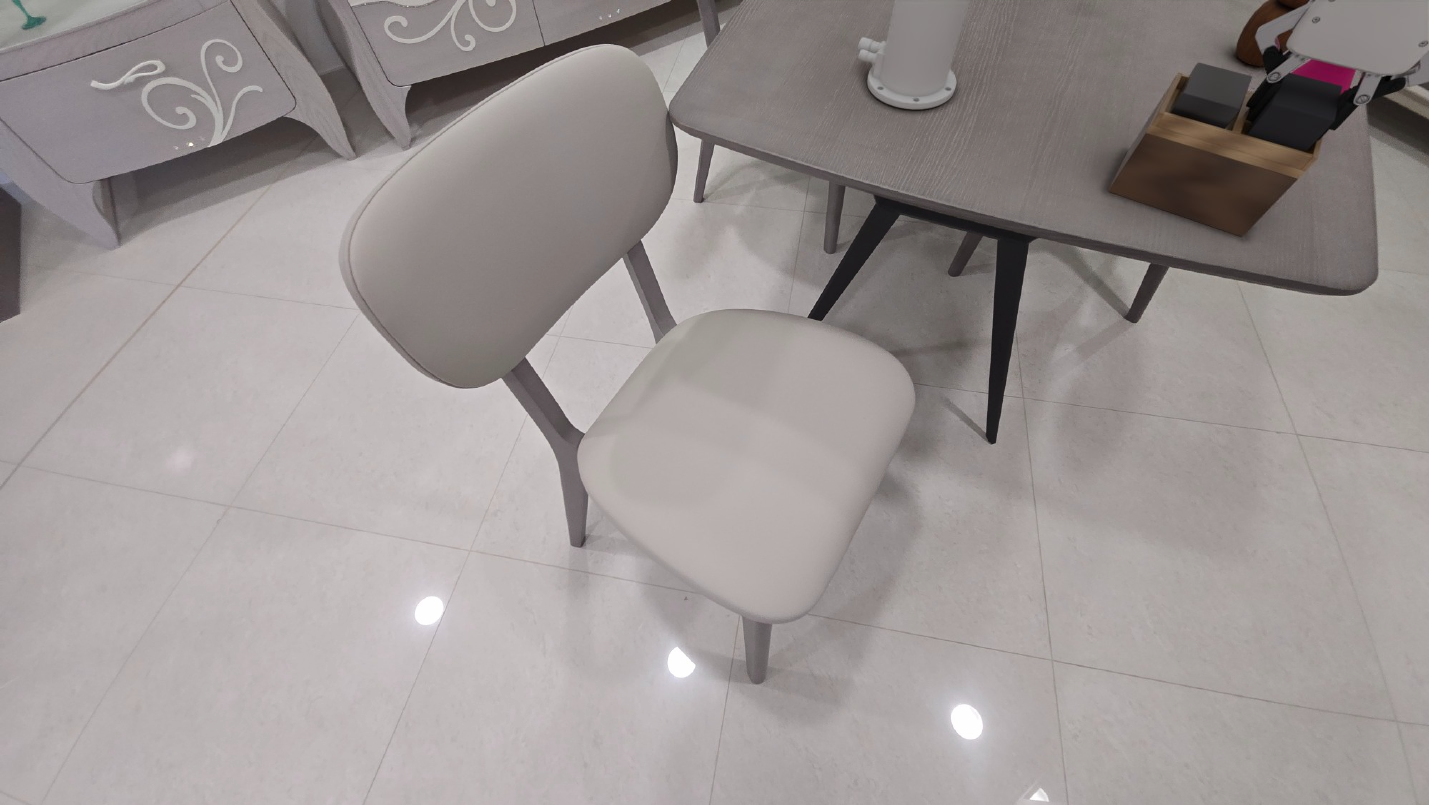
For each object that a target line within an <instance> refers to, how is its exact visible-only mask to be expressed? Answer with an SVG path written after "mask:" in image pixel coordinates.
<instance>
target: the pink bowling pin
mask: <svg viewBox="0 0 1429 805" xmlns="http://www.w3.org/2000/svg"><path fill="white" fill-rule="evenodd" d="M1356 72H1357V70H1354V69H1350V68H1346V67H1342V66H1338V65H1333V64H1329V63H1325V62H1321V61H1317V60H1313V59H1309V60H1308V61H1307V62H1304V64H1301V65H1299V66H1298V67H1296V68H1295V69H1294V70H1293V71H1291V72H1290V73H1293V74H1297V75H1301V76H1305V77H1309V78H1313V79H1317V80H1320V81H1324V82H1328V83H1332V84H1336V85H1340V86H1343V87H1342V91H1341V94H1342V93H1343V92H1344V91H1345V90H1348V89H1349V88H1351V86H1352V83H1353V79H1354V77H1355V74H1356Z"/></svg>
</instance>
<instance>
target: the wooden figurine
mask: <svg viewBox="0 0 1429 805" xmlns="http://www.w3.org/2000/svg"><path fill="white" fill-rule="evenodd" d="M1309 1H1310V0H1267V1H1265V2H1263V3H1262V4H1261V6H1259V7H1258V8H1257V9H1256V10H1255V11H1254V12H1253V14H1252V15H1251V17H1250V18H1248V20H1247V22H1246V23H1245V25H1244V26H1243V29H1242V30H1241V32H1240V34H1239V36H1238V40H1237V42H1236V48H1235V53H1236V56H1237V58H1238V59H1239V60H1241V61H1242V62H1243V63H1245V64H1248V65H1251V66H1256V67H1265V66H1264V63H1263V59H1262V53H1261V51H1260V49H1259V47H1258V44H1257V41H1256V39H1255V35H1256V33H1257V30H1258V28H1259V27H1260V26H1262V25H1264V24H1266V23H1268V22H1270V21H1272V20H1274V19H1276V18H1278V17H1281V16H1283V15H1285V14H1287V13H1289V12H1291V11H1293V10H1295V9H1297V8H1299V7H1302V6H1304V5H1306V4H1307V3H1308V2H1309ZM1292 33H1293V31H1292V30H1288V31H1286V32H1284V33H1281V34H1280V35H1278V36H1277V37H1278V41H1279V43H1280V44H1281V47H1282V51H1283V53H1285V52H1286V51H1287V50H1288V48H1287V46H1286V44H1287V41H1288V39H1289V37H1290V36H1291V34H1292Z"/></svg>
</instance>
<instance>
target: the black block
mask: <svg viewBox="0 0 1429 805" xmlns="http://www.w3.org/2000/svg"><path fill="white" fill-rule="evenodd" d="M1342 87H1343V86H1340V85H1336V84H1332V83H1328V82H1324V81H1320V80H1317V79H1313V78H1309V77H1305V76H1301V75H1297V74H1293V73H1291V72H1290V73H1289V74H1287V75H1286V76H1285V78H1284V80H1283V83H1282V86H1281V88H1280V89H1279V91H1278V92H1277V93H1276V94H1275V95H1274V96H1273V98H1272V99H1271V100H1270V101H1269V102H1268V104H1267V105H1266V106H1265V107H1264V109H1263V110H1262V111H1261V112H1260V114H1259V115H1258V116H1257V117H1256V119H1255V120H1254V121H1253V120H1252V122H1251V125H1250V127H1249V130H1248V133H1247V135H1248V136H1252V137H1255V138H1259V139H1262V140H1266V141H1269V142H1273V143H1276V144H1280V145H1283V146H1287V147H1290V148H1294V149H1297V150H1301V151H1304V152H1306V151H1307V150H1308V149H1309V148H1310V147H1311V146H1312V145H1313V144H1314V142H1315V141H1316V140H1317V139H1318V138H1319V137H1320V136H1321V135H1322V134H1323V133H1324V132H1325V131H1326V130H1327V128H1328V127H1329V126H1330V125H1331V124H1332V123H1333V122H1334V121H1335V117H1336V112H1337V106H1338V102H1339V98H1340V95H1341V91H1342Z"/></svg>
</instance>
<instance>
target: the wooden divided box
mask: <svg viewBox="0 0 1429 805" xmlns="http://www.w3.org/2000/svg"><path fill="white" fill-rule="evenodd" d="M1252 78H1253V76H1252V75H1249V74H1245V73H1241V72H1237V71H1233V70H1229V69H1226V68H1222V67H1219V66H1215V65H1210V64H1206V63H1204V62H1197V63H1196V64H1195V66H1194V67H1193V69H1192V71H1191V72H1190V74H1186V73H1182V72H1177V73H1176V75H1175V77H1174V78H1173V80H1172V81H1171V82H1170V85H1169V86H1168V87H1167V89H1166V90H1165V92H1164V94H1163V95H1162V97H1161V99H1160V100H1159V102H1158V103H1157V105H1156V107H1155V108H1154V109H1153V111H1152V113H1151V114H1150V116H1149V117H1148V119H1147V120H1146V122H1145V123H1144V125H1143V127H1142V128H1141V130H1140V131H1139V133H1138V134H1137V136H1136V138H1134V141H1133V142H1132V144H1131V146H1130V147H1129V148H1128V150H1127V152H1126V154H1125V156H1124V158H1123V159H1122V162H1121V164H1120V166H1119V168H1118V169H1117V171H1116V174H1115V176H1114V178H1113V180H1112V182H1111V184H1110V186H1109V188H1108V190H1107V191H1108V192H1109V193H1111V194H1115V195H1118V196H1120V197H1123V198H1127V199H1129V200H1133V201H1136V202H1137V203H1138V202H1139V203H1142V204H1144V205H1147V206H1150V207H1154V208H1156V209H1158V210H1162V211H1165V212H1168V213H1171V214H1174V215H1176V216H1179V217H1183V218H1186V219H1189V220H1191V221H1194V222H1197V223H1200V224H1203V225H1206V226H1209V227H1212V228H1215V229H1217V230H1221V231H1223V232H1227V233H1230V234H1232V235H1235V236H1239V237H1244V236H1245V235H1246V234H1247V233H1248V232H1249V231H1250V230H1251V229H1252V228H1253V227H1254V226H1255V225H1256V224H1257V222H1259V221H1260V219H1261V218H1262V217H1264V215H1265V214H1266V213H1268V212H1269V210H1270V209H1272V207H1273V206H1274V205H1275V204H1276V203H1277V202H1278V201H1279V200H1280V199H1281V198H1282V197H1283V196H1284V195H1285V193H1287V191H1288V190H1290V189H1291V187H1293V185H1294V184H1295V183H1296V182H1297V181H1298V180H1299V179H1300V178H1301V177H1302V176H1303V175H1304V174H1305V173H1306V172H1307V170H1309V169H1310V168H1311V167H1312V166H1313V165H1314V164H1315V163H1316V161H1317V160H1318V159H1319V157H1320V156H1319V155H1320V151H1321V147H1322V142H1323V139H1324V136H1323V137H1322V138H1321V139H1320V140H1316V141H1315V142H1314V144H1313V145H1312V146H1311V147H1310V148H1309V149H1308V150H1307V151H1306V152H1304V151H1301V150H1297V149H1294V148H1290V147H1287V146H1283V145H1280V144H1276V143H1273V142H1269V141H1266V140H1262V139H1259V138H1255V137H1252V136H1248V135H1247V133H1248V130H1249V127H1250V125H1251V122H1252V121H1247V120H1246V118H1247V115H1248V112H1249V109H1250V108H1249V107H1246V104H1247V102H1248V100H1249V99H1250V97H1251V96H1252V95H1253V93H1254V92H1253V91H1250V90H1248V89H1249V88H1250V84H1251V82H1252Z"/></svg>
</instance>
